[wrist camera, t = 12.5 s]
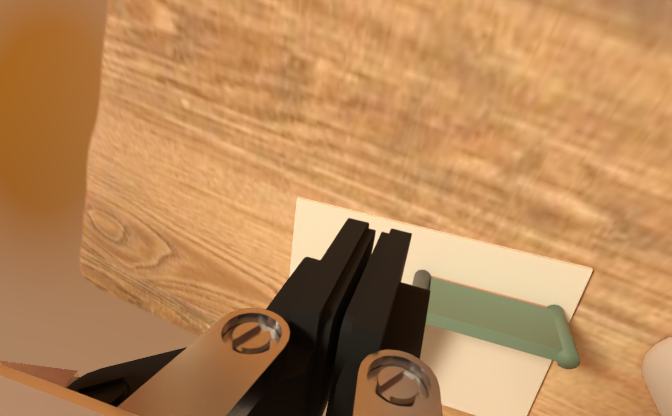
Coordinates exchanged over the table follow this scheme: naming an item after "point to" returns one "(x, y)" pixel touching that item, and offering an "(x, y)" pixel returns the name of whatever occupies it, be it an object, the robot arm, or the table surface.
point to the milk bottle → (659, 375)
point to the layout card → (470, 271)
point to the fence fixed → (500, 320)
